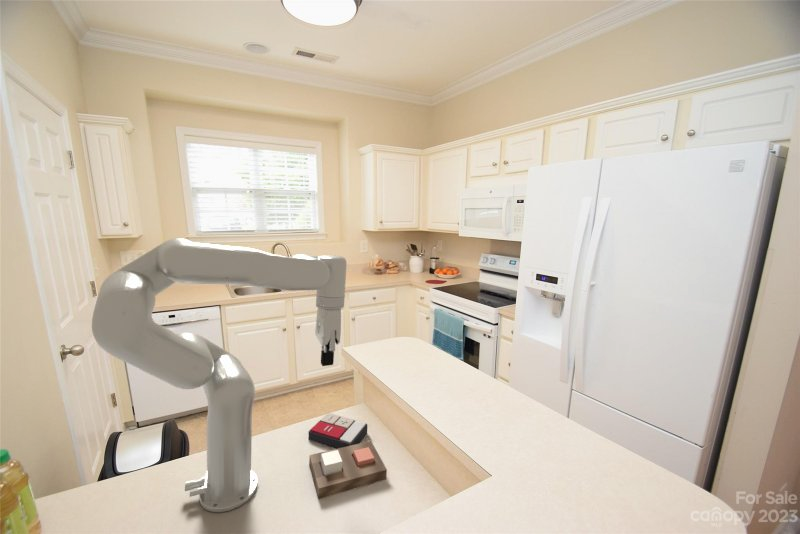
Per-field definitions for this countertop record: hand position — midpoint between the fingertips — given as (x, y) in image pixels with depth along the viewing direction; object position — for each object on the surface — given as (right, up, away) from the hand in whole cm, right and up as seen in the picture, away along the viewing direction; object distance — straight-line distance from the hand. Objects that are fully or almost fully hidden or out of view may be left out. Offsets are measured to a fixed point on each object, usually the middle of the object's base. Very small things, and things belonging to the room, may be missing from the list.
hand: (326, 364), depth 93 cm
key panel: (+6, -28, -3) cm, 29 cm away
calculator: (+1, -27, +11) cm, 29 cm away
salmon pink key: (+10, -28, -1) cm, 30 cm away
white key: (+2, -27, -5) cm, 27 cm away
